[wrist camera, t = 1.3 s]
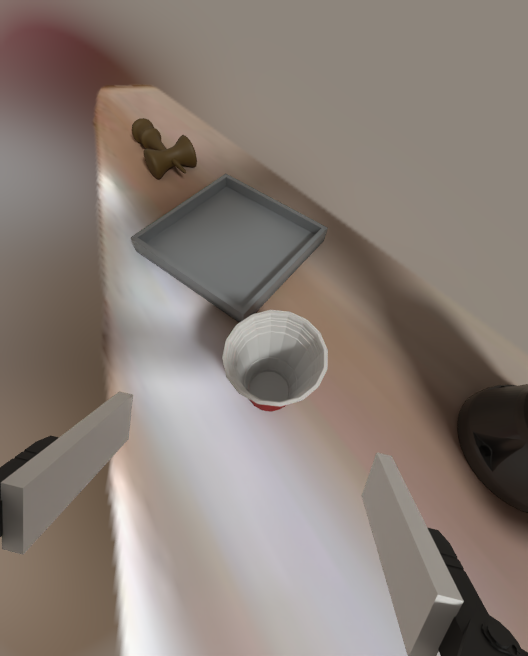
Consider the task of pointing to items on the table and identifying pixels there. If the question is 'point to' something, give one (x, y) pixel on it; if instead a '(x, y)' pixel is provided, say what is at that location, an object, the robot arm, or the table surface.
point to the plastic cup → (275, 359)
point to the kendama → (162, 149)
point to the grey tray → (231, 245)
